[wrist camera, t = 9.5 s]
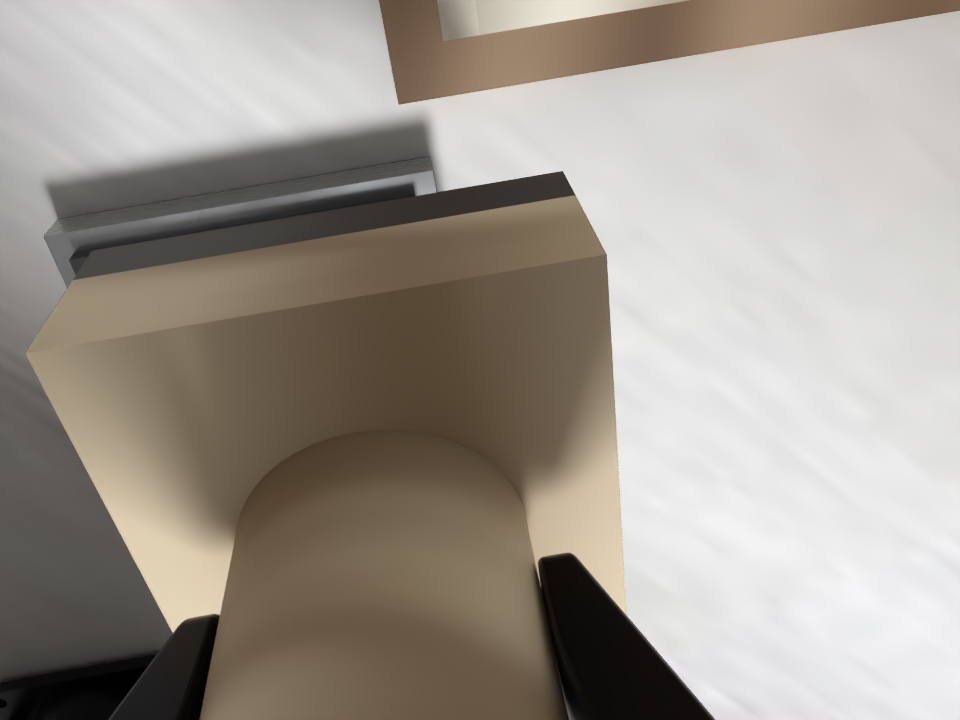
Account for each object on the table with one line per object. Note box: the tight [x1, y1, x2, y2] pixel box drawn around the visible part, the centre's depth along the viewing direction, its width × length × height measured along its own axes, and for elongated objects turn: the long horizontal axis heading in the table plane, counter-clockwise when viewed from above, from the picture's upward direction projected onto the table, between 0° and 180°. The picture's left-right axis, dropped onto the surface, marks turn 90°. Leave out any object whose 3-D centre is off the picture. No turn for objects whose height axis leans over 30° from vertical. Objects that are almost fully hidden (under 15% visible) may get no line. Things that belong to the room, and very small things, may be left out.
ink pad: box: [44, 156, 437, 288], centre depth 22 cm, size 9×9×1 cm
